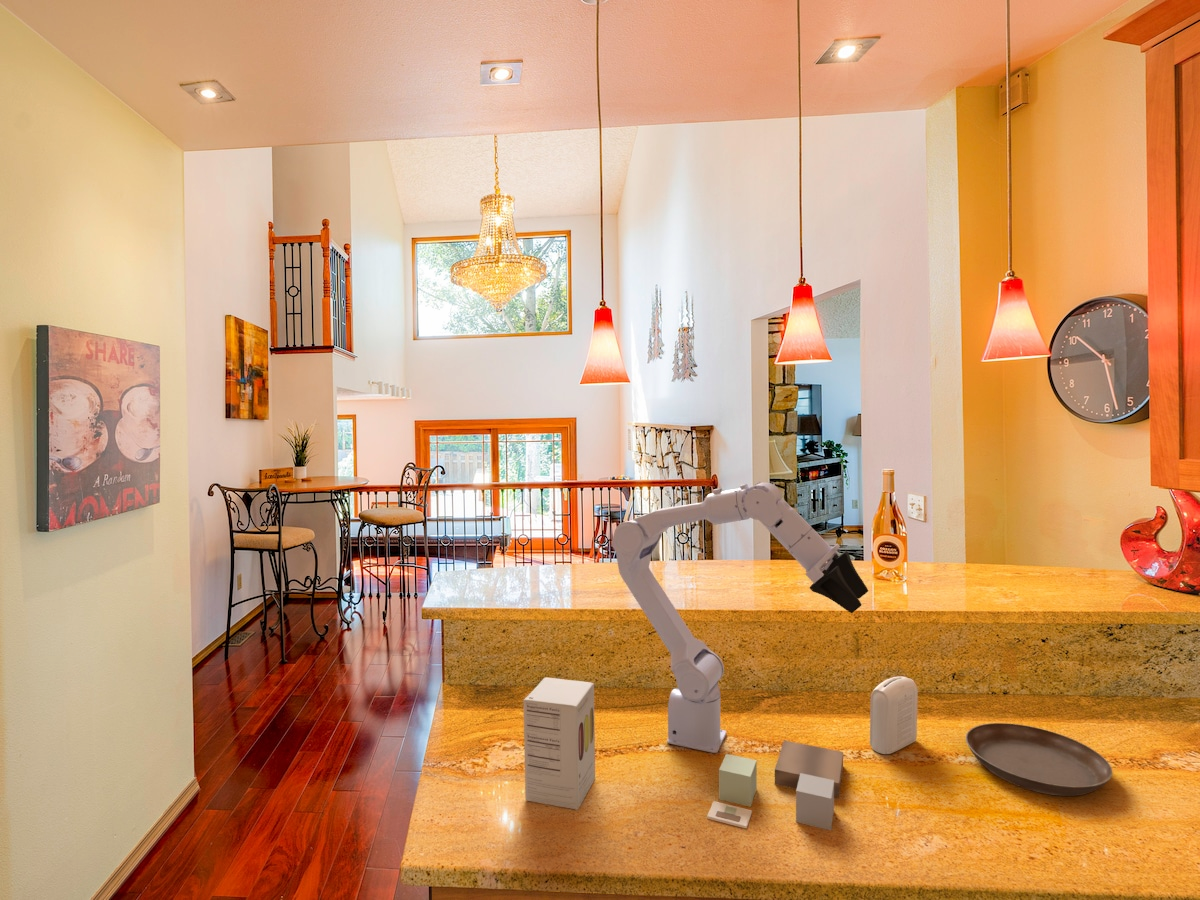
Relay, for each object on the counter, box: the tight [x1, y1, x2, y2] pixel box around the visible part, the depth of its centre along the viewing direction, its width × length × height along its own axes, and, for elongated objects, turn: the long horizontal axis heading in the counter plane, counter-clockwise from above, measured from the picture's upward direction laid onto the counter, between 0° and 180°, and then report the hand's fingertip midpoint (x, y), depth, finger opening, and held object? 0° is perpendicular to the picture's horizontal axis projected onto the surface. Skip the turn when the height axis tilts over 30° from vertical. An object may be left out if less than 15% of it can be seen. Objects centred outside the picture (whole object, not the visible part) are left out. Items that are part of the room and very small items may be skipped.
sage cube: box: [718, 753, 758, 807], centre depth 104 cm, size 5×5×5 cm
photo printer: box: [869, 675, 919, 755], centre depth 118 cm, size 10×4×12 cm, turn 123°
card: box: [706, 800, 753, 829], centre depth 98 cm, size 6×4×1 cm, turn 66°
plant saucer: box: [965, 722, 1113, 797], centre depth 110 cm, size 21×21×3 cm
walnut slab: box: [774, 740, 844, 799], centre depth 109 cm, size 10×10×3 cm
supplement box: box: [522, 676, 596, 811], centre depth 105 cm, size 10×9×17 cm
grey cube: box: [795, 773, 835, 831], centre depth 98 cm, size 5×5×5 cm
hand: (860, 601), depth 106 cm, fingers open, 7 cm apart
